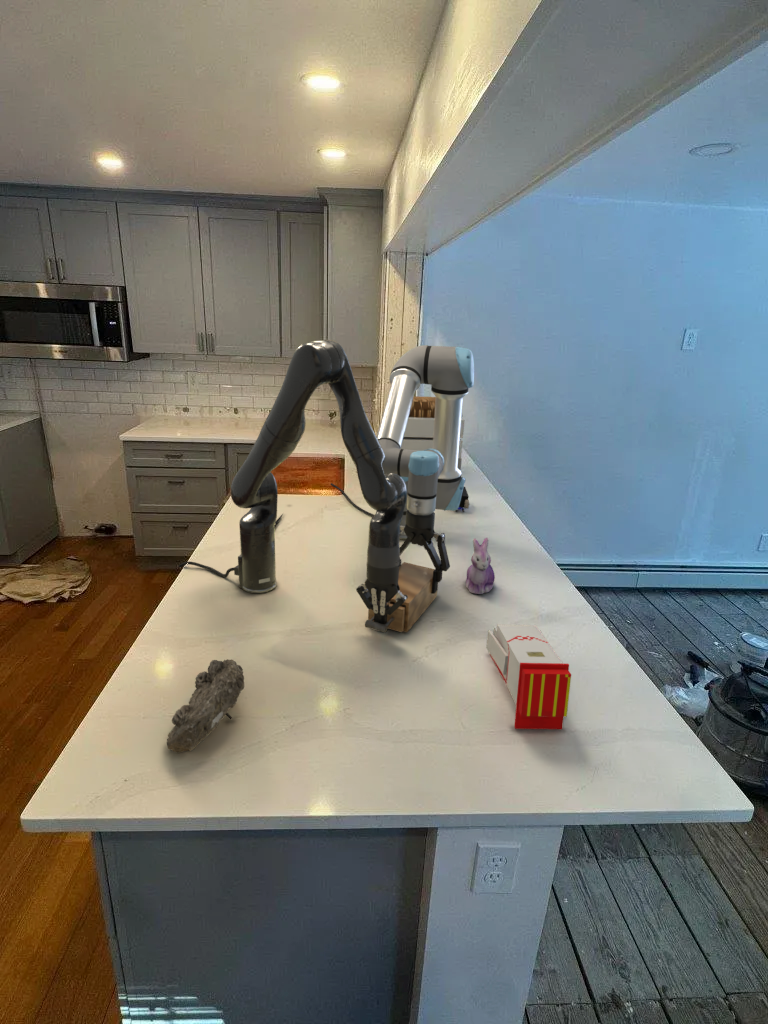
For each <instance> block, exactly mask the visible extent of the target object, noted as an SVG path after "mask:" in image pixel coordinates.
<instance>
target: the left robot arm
mask: <svg viewBox="0 0 768 1024" xmlns="http://www.w3.org/2000/svg"><path fill="white" fill-rule="evenodd" d="M327 384H328V386H329V388H330V390H331V391H332V393H333V395H334V396H335V399H336V403H337V406H338V412H339V425H340V433H341V438H342V441H343V444H344V446H345V448H346V451H347V452H348V455H349V457H350V458H351V460H352V462H353V464H354V466H355V468H356V473H357V479H358V483H359V486H360V490H361V494H362V496H363V498H364V501H365V502H366V504H367V505H368V506H369V507H370V508H371V509H372V510H374V511H375V514H374V516H373V517H372V518H371V519H370V521H369V524H368V542H367V543H368V545H367V550H366V552H367V553H366V575H365V576H366V579H365V581H364V583H360V585H359V586H358V587H356V588H355V590H356V592H357V594H358V595H359V598H360V599H361V600H362V602H363V603H364V605H365V607H366V609H368V610H369V609H372V610H373V611H374V622H377V623H381V624H384V625H385V624H386V623H387V614H388V615H391V614H392V613H393V612H394V611H395V610H396V609H397V608H398V607H400V606H401V605H402V604H403V603H404V602H405V601H406V600H407V598H408V596H407V595H403V594H402V593H401V592H400V591H399V590H400V587H399V585H398V579H399V562H400V559H401V555H400V547H401V546H400V541H401V540H400V523H401V519H402V516H403V512H404V508H405V504H406V498H407V488H406V484H405V482H404V480H403V479H402V478H401V477H400V476H399V475H397V474H393V473H390V474H386V475H384V471H383V468H382V463H383V462H384V460H385V454H384V451H383V449H382V447H381V445H380V443H379V441H378V439H377V437H376V436H377V434H376V433H375V431H374V430H373V429H374V428H373V427H372V425H371V423H370V421H369V418H368V415H367V413H366V409H365V408H364V405H363V402H362V398H361V395H360V392H359V389H358V385H357V383H356V381H355V377H354V375H353V371H352V367H351V364H350V362H349V359H348V355H347V354H346V351H345V350H344V348H343V347H342V345H341V344H340V343H339V342H337V341H335V340H333V339H319V340H313V341H307V342H304V343H301V344H300V345H298V347H297V348H296V349H295V351H294V352H293V354H292V357H291V359H290V362H289V364H288V367H287V369H286V373H285V377H284V380H283V382H282V385H281V388H280V390H279V392H278V394H277V396H276V399H275V400H274V403H273V405H272V407H271V409H270V411H269V413H268V415H267V416H266V418H265V420H264V423H263V424H262V427H261V428H260V431H259V433H258V436H257V438H256V440H255V442H254V444H253V445H252V447H251V450H250V451H249V453H248V455H247V457H246V459H245V460H244V462H243V463H242V464H241V466H240V468H239V469H238V470H237V472H236V474H235V475H234V477H233V478H232V481H231V485H230V497H231V500H232V502H233V503H234V505H235V506H236V507H237V508H240V509H249V510H248V511H247V512H246V513H245V514H244V515H243V516H242V517H241V518H240V520H239V522H238V523H239V543H240V554H239V555H238V556H237V565H236V566H234V567H230V568H228V569H227V570H226V572H225V573H222V572H221V571H219V570H216V569H215V568H213V567H211V566H208V565H205V564H201V563H199V562H196V561H185V562H184V561H183V562H181V563H180V564H179V565H178V568H183V567H184V566H186V564H187V563H188V564H187V566H189V565H192V566H196V567H199V568H201V569H205V570H208V571H211V572H212V573H214V574H216V575H218V576H219V577H221V578H227V577H228V576H229V574H230V572H233V574H234V576H238V584H239V586H238V588H239V589H242V590H243V591H245V592H247V593H251V594H264V593H268V592H270V591H273V590H274V589H275V588H276V587H277V577H276V576H277V574H276V573H277V569H276V566H277V565H276V537H275V536H276V534H275V533H276V532H275V529H276V528H275V524H276V523H275V522H276V521H277V519H278V518H277V517H278V497H279V496H278V493H279V491H278V483H277V480H276V477H275V476H274V474H273V473H272V471H274V470H275V469H276V468H277V467H279V466H281V464H282V463H284V461H286V460H287V459H288V458H289V457H290V456H291V455H292V454H293V452H294V451H295V450H296V449H297V446H298V445H299V443H300V441H301V439H302V438H303V435H304V433H305V430H306V414H305V409H306V406H307V404H308V402H309V400H310V399H311V396H312V395H313V394H314V392H316V390H317V388H319V387H320V386H324V385H327ZM395 595H396V598H395V600H396V603H394V604H393V605H392V606H391V607H389V604H390V601H391V599H392V598H393V597H394V596H395Z"/></svg>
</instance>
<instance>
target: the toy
mask: <svg viewBox="0 0 768 1024" xmlns="http://www.w3.org/2000/svg"><path fill="white" fill-rule="evenodd" d="M486 636H487V637H486V638H487V639H486V644H485V645H486V646H485V649H486V650H487V652H488V653H489V656H490V658H491V660H492V661H493V663H494V665H495V667H496V669H497V670H498V672H499V674H500V676H501V678H502V679H503V681H504V683H505V684H506V687H507V689H508V691H509V694H510V696H511V698H512V700H513V702H514V704H515V715H514V730H563V723H564V717H565V718H566V717H567V716H568V709H569V699H570V692H571V691H570V690H571V682H572V681H571V680H572V673H571V671H569V670H570V669H569V668H570V664H569V663H564V662H563V661H562V659H561V658H560V657H559V655H558V654H557V652H556V651H555V650H554V648H553V647H552V646H551V644H550V643H549V641H548V640H547V638H546V637H545V636H544V634H543V633H542V631H541V630H540V629H539V628H538V626H537V625H536V624H498V623H497V625H496V626H493V631H492V630H488V631H487V635H486Z"/></svg>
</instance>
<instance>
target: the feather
mask: <svg viewBox="0 0 768 1024" xmlns="http://www.w3.org/2000/svg"><path fill="white" fill-rule="evenodd" d="M283 515H284V513H282V514H281V515H280V516H279V517H278V518H277V519H276V521H275V529H276V528H277V526H278V525H279V522H280V520H281V519H282V517H283Z"/></svg>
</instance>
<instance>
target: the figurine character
mask: <svg viewBox="0 0 768 1024" xmlns="http://www.w3.org/2000/svg"><path fill="white" fill-rule="evenodd" d="M469 498H470V496H469V494H468V491H467V488H466V486H464V488H463V492H462V497H461V501H460V505H459V508H458V509H457V510H455V512H456V513H458V510H461V511H462V513H465V509H469V506H470V500H469Z"/></svg>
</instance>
